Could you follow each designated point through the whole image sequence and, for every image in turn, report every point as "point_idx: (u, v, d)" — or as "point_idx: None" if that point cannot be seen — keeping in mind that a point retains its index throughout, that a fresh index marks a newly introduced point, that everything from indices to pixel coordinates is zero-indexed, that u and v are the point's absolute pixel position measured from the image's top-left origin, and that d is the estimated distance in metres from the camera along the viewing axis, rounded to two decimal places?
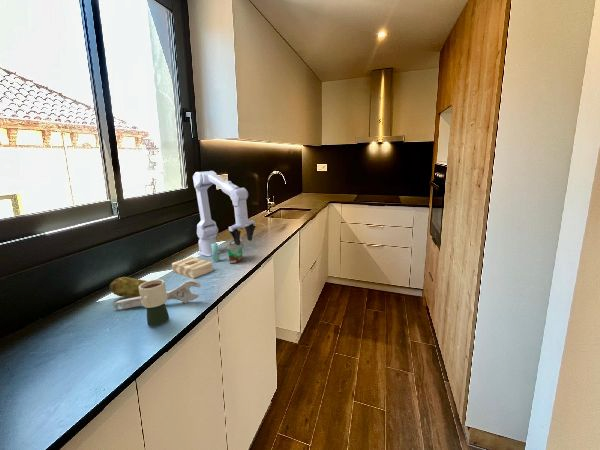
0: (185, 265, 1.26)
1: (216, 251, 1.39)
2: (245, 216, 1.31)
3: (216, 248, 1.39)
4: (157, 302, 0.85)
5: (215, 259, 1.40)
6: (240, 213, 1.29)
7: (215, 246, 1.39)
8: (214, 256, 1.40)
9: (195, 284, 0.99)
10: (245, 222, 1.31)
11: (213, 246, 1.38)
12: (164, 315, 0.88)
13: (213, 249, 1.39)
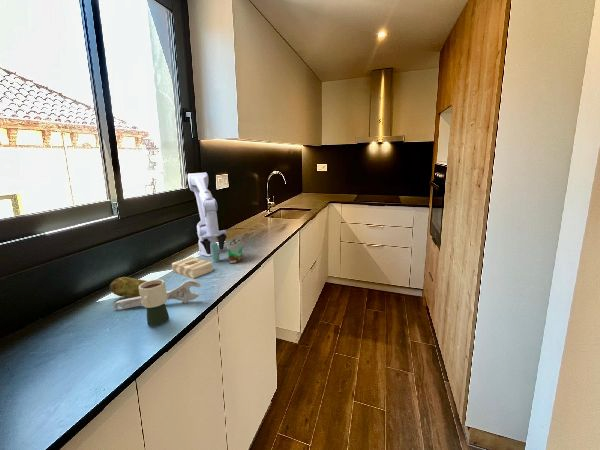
0: (185, 265, 1.26)
1: (216, 251, 1.39)
2: (215, 226, 1.36)
3: (216, 248, 1.39)
4: (157, 302, 0.85)
5: (215, 259, 1.40)
6: (208, 224, 1.35)
7: (215, 246, 1.39)
8: (214, 256, 1.40)
9: (195, 284, 0.99)
10: (215, 232, 1.36)
11: (213, 246, 1.38)
12: (164, 315, 0.88)
13: (213, 249, 1.39)
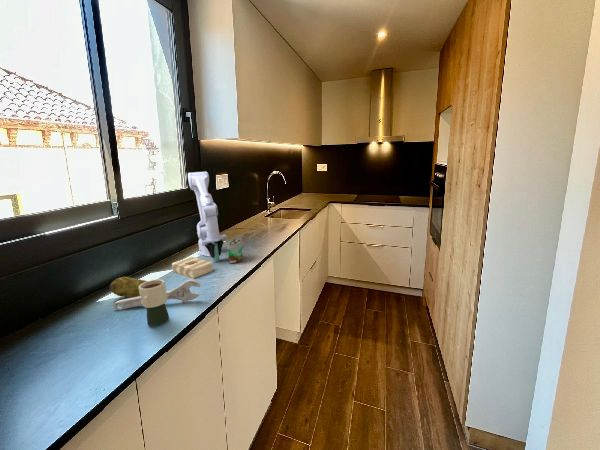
0: (185, 265, 1.26)
1: (216, 251, 1.39)
2: (216, 231, 1.37)
3: (216, 248, 1.39)
4: (157, 302, 0.85)
5: (215, 259, 1.40)
6: (208, 229, 1.35)
7: (215, 246, 1.39)
8: None
9: (195, 284, 0.99)
10: (216, 237, 1.37)
11: None
12: (164, 315, 0.88)
13: None
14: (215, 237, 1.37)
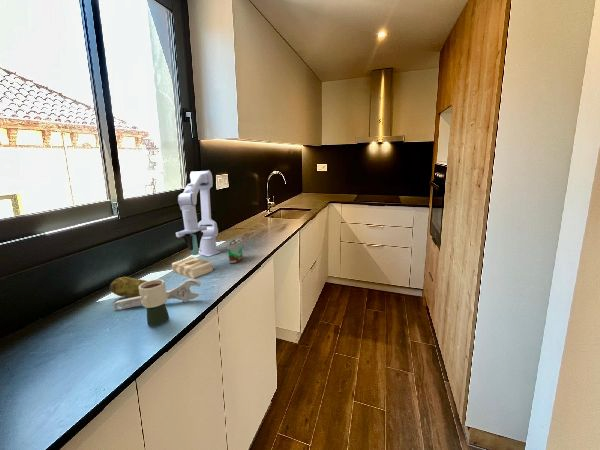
0: (185, 265, 1.26)
1: (195, 243, 1.28)
2: (194, 221, 1.25)
3: (195, 240, 1.28)
4: (157, 302, 0.85)
5: (194, 252, 1.29)
6: (183, 218, 1.25)
7: (193, 237, 1.28)
8: None
9: (195, 283, 1.00)
10: (194, 228, 1.26)
11: None
12: (164, 315, 0.88)
13: None
14: (193, 228, 1.26)
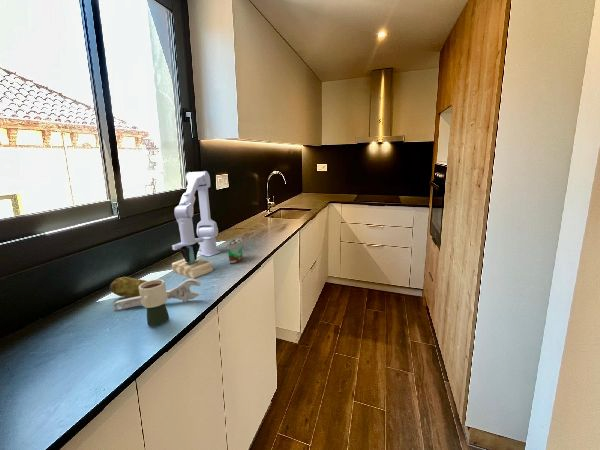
0: (185, 265, 1.26)
1: (191, 255, 1.27)
2: (190, 234, 1.25)
3: (191, 252, 1.27)
4: (157, 302, 0.85)
5: (190, 264, 1.28)
6: (180, 231, 1.24)
7: (190, 250, 1.27)
8: None
9: (195, 283, 1.00)
10: (190, 240, 1.25)
11: None
12: (164, 315, 0.88)
13: None
14: (189, 240, 1.25)
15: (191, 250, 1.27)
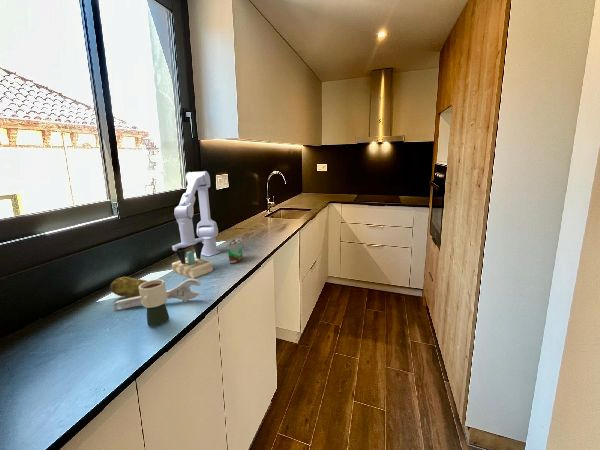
0: (185, 265, 1.26)
1: (192, 260, 1.28)
2: (190, 234, 1.25)
3: (192, 257, 1.28)
4: (157, 302, 0.85)
5: None
6: (180, 231, 1.24)
7: (191, 255, 1.27)
8: None
9: (195, 283, 1.00)
10: (191, 240, 1.25)
11: (188, 255, 1.27)
12: (164, 315, 0.88)
13: (189, 258, 1.27)
14: (190, 240, 1.25)
15: (192, 255, 1.28)
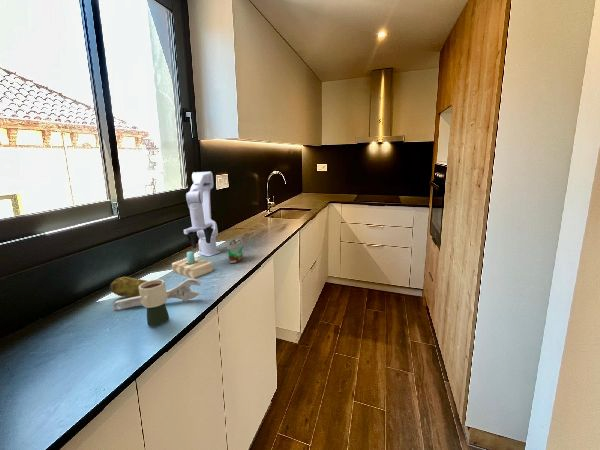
0: (185, 265, 1.26)
1: (192, 260, 1.28)
2: (201, 219, 1.30)
3: (192, 257, 1.28)
4: (157, 302, 0.85)
5: None
6: (191, 216, 1.29)
7: (191, 255, 1.27)
8: None
9: (195, 282, 1.00)
10: (201, 225, 1.30)
11: (188, 255, 1.27)
12: (164, 315, 0.88)
13: (189, 258, 1.27)
14: (200, 225, 1.30)
15: (192, 255, 1.28)
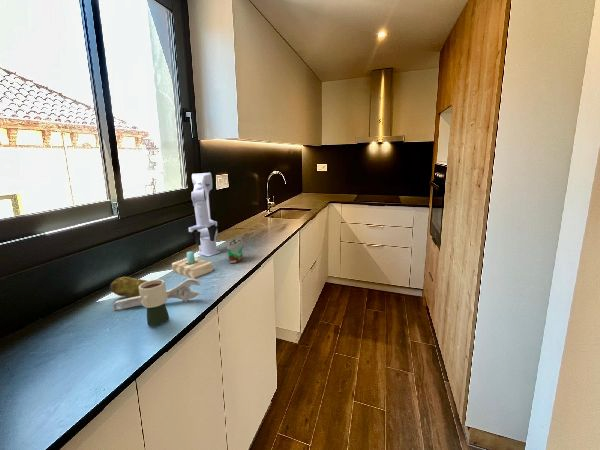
0: (185, 265, 1.26)
1: (192, 260, 1.28)
2: (205, 217, 1.32)
3: (192, 257, 1.28)
4: (157, 302, 0.85)
5: None
6: (196, 214, 1.31)
7: (191, 255, 1.27)
8: None
9: (195, 282, 1.00)
10: (205, 223, 1.33)
11: (188, 255, 1.27)
12: (164, 315, 0.88)
13: (189, 258, 1.27)
14: (205, 223, 1.32)
15: (192, 255, 1.28)
